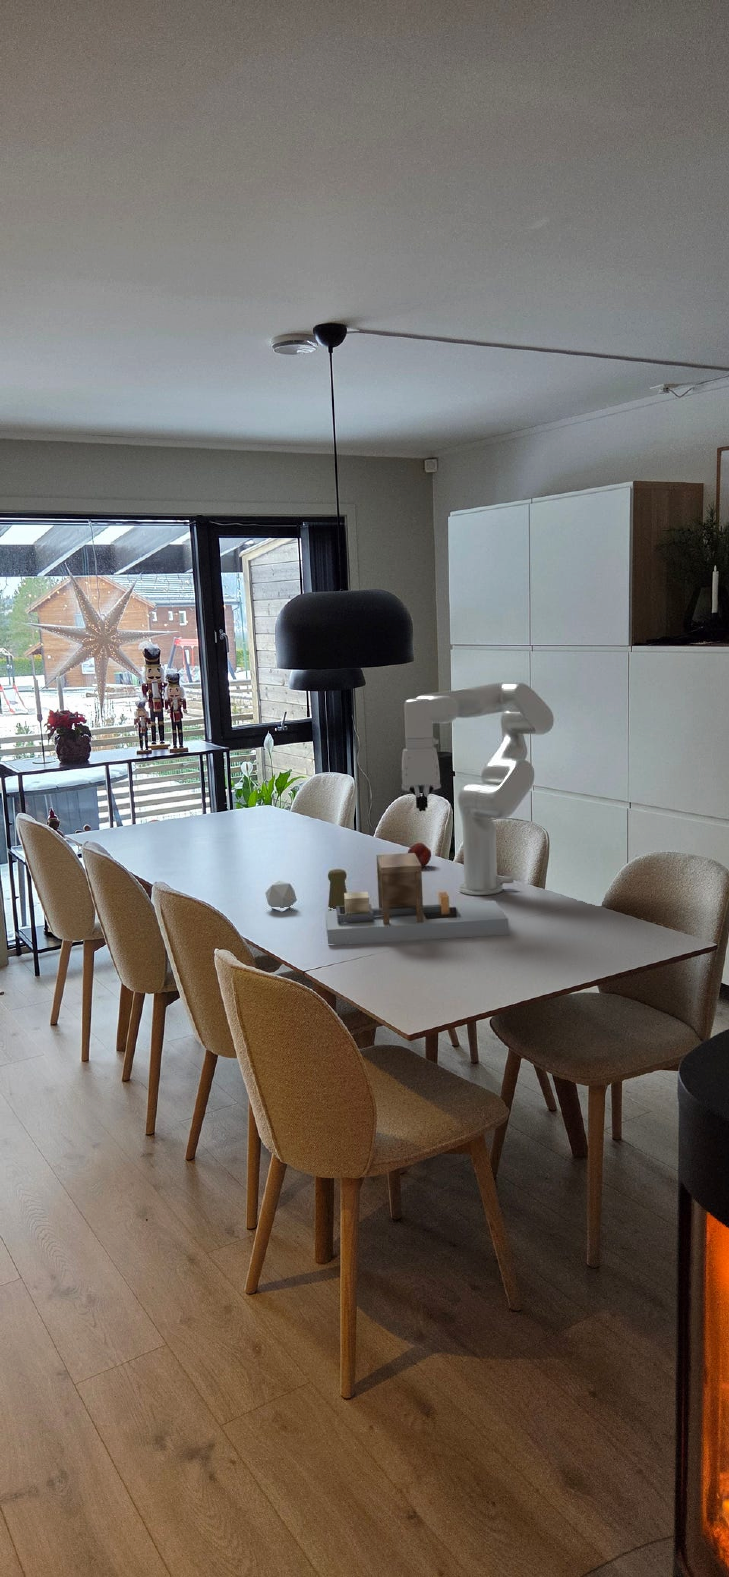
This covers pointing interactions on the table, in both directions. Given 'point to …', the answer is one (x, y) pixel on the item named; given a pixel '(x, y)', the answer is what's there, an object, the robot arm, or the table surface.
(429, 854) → the apple
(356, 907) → the block
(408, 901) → the tunnel
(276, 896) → the die
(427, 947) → the table surface
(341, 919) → the sled
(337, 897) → the tan pawn
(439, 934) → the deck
